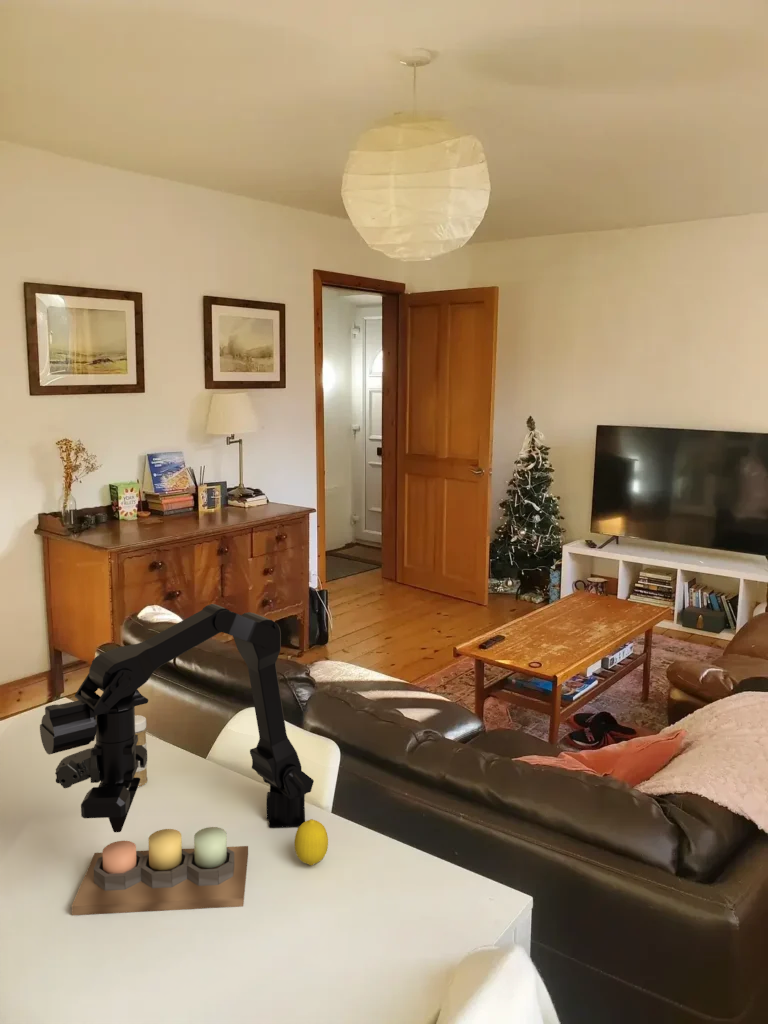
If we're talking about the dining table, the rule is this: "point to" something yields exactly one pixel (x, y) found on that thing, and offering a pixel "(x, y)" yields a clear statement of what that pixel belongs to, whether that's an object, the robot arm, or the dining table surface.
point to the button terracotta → (119, 857)
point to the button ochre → (165, 849)
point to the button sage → (210, 847)
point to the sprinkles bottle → (141, 732)
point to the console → (163, 885)
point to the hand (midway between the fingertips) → (117, 831)
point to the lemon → (311, 842)
